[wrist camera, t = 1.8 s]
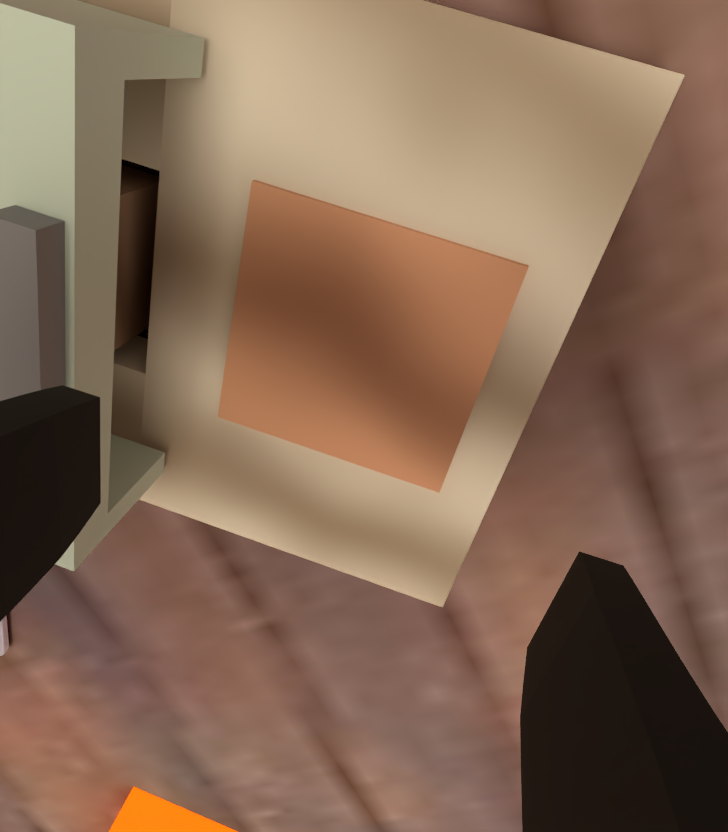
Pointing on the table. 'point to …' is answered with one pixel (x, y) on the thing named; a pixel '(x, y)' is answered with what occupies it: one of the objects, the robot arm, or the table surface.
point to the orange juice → (160, 816)
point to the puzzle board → (365, 265)
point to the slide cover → (72, 213)
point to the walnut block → (135, 253)
